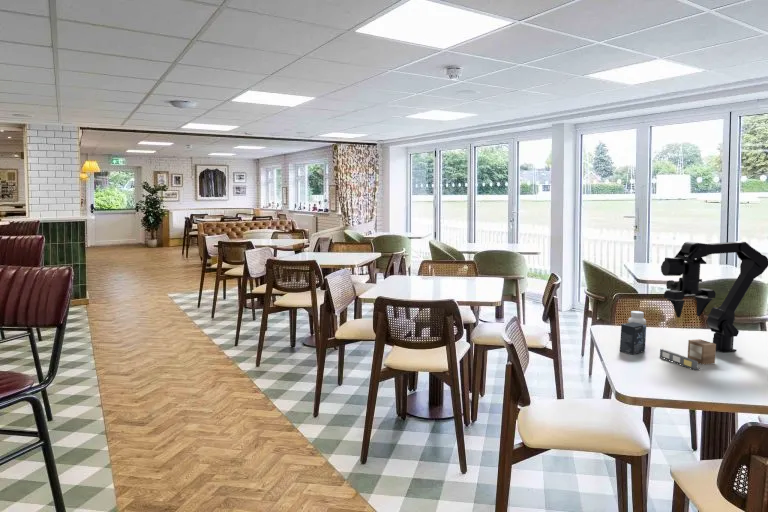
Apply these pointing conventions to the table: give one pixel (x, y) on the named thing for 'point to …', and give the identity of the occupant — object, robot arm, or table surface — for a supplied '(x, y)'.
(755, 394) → the table surface
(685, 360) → the rail
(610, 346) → the table surface
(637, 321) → the supplement bottle
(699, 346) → the tea box
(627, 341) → the box
